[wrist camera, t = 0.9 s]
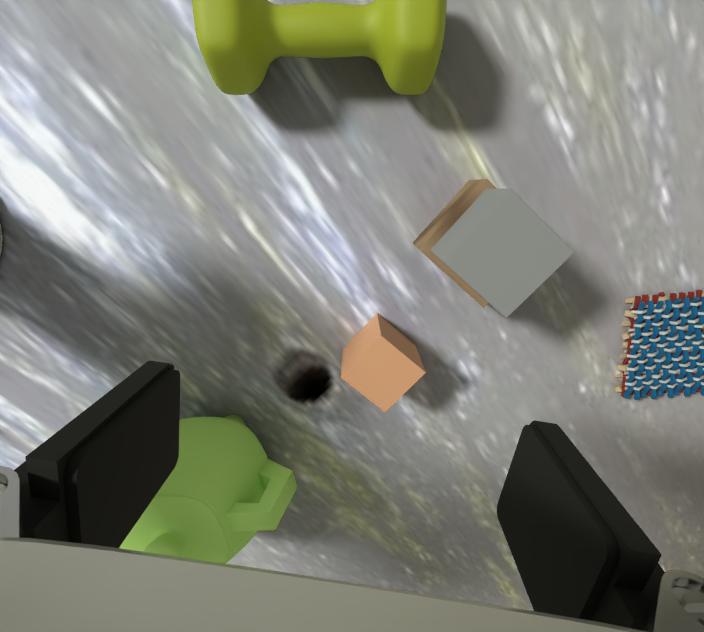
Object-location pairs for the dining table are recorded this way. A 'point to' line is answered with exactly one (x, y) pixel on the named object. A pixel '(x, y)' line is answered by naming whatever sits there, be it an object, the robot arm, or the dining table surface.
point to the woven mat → (663, 346)
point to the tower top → (502, 249)
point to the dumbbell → (320, 38)
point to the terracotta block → (381, 363)
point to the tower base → (446, 222)
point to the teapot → (214, 494)
